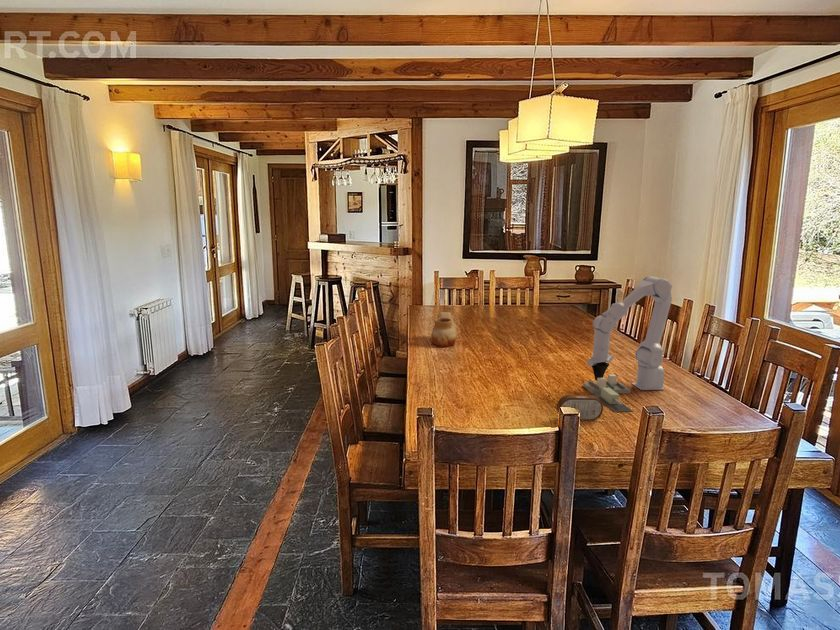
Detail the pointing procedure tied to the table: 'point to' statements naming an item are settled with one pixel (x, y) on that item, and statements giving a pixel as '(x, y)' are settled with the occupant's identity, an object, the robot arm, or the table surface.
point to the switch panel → (596, 390)
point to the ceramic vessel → (444, 330)
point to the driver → (610, 396)
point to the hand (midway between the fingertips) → (598, 380)
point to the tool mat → (614, 405)
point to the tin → (583, 406)
